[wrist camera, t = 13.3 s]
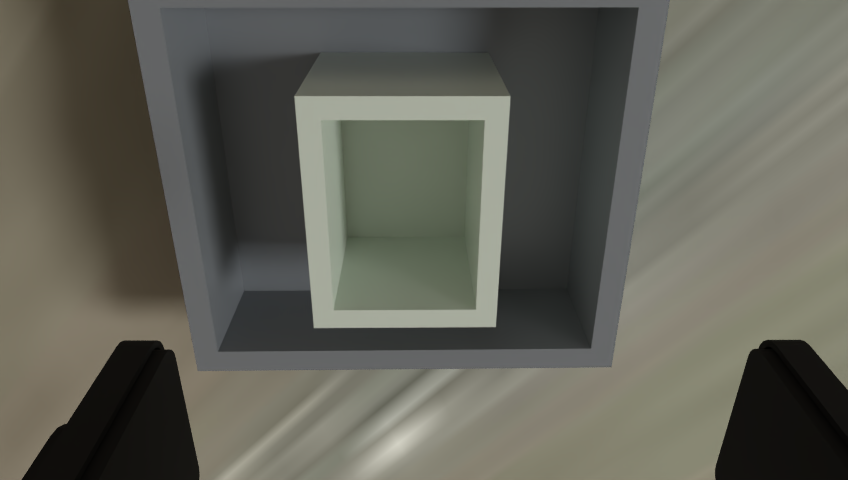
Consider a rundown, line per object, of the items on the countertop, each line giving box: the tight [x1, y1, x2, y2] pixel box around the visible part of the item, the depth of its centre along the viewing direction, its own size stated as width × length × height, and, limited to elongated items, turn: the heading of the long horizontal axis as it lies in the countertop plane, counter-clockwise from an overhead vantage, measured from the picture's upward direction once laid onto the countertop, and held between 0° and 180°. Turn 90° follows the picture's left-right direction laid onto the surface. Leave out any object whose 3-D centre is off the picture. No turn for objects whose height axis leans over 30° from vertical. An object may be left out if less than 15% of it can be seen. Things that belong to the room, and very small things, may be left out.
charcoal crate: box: [128, 0, 670, 371], centre depth 28 cm, size 16×18×6 cm
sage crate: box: [294, 53, 511, 328], centre depth 27 cm, size 9×7×7 cm
